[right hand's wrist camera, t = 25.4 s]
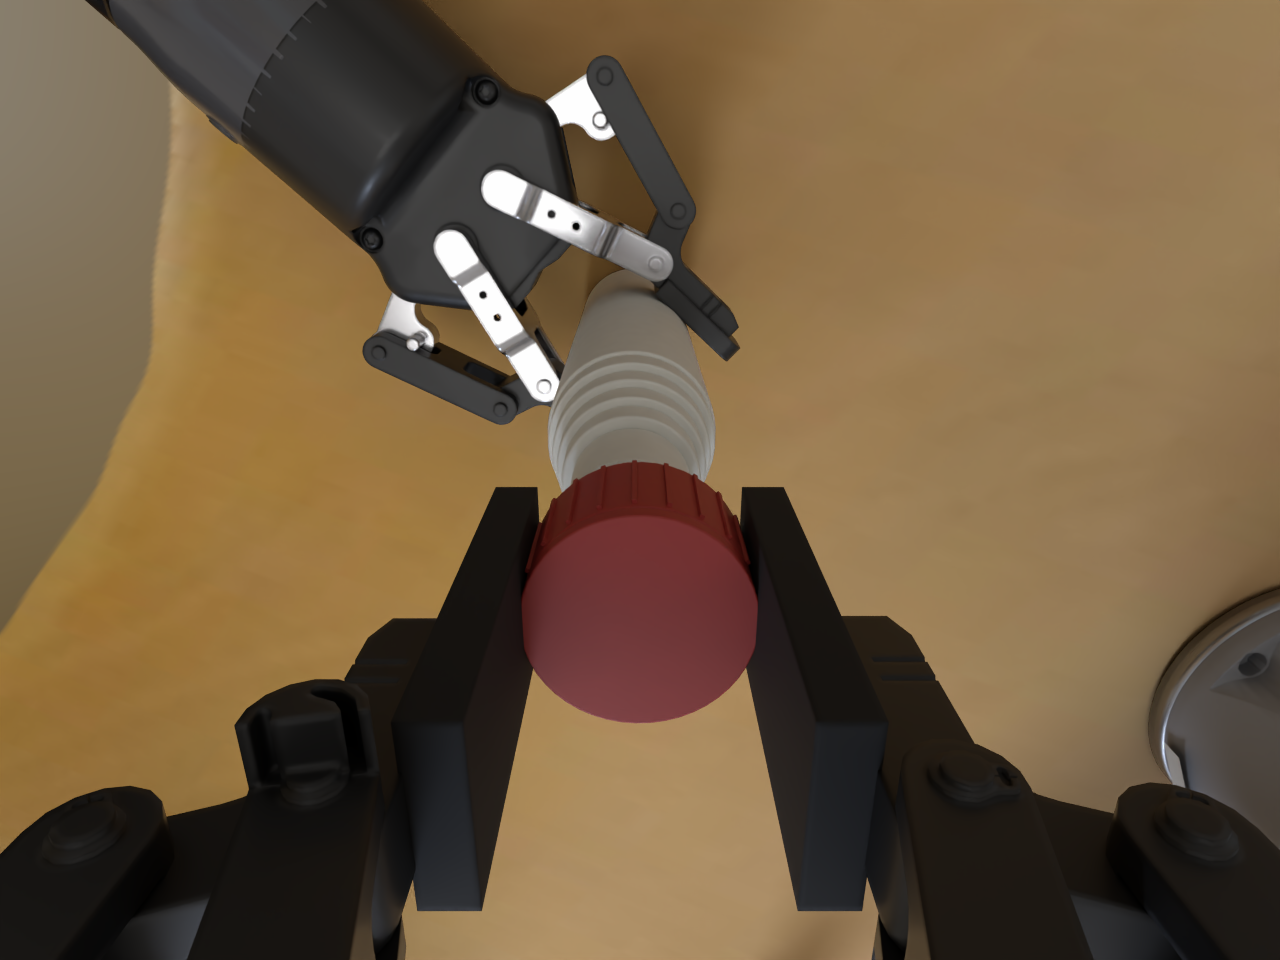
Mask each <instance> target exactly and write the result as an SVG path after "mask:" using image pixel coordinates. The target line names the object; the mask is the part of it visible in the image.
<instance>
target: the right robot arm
mask: <svg viewBox="0 0 1280 960" xmlns="http://www.w3.org/2000/svg"><path fill="white" fill-rule="evenodd" d="M538 523H539V509H538V490H537V487H496V488H495V490H494V492H493V495H492V497H491V499H490V501H489V504H488V506H487V508H486V510H485V513H484V515H483V517H482V519H481V521H480V524H479V526H478V528H477V530H476V533H475V535H474V537H473V539H472V542H471V544H470V546H469V548H468V550H467V553H466V555H465V557H464V559H463V562H462V564H461V566H460V568H459V571H458V573H457V575H456V577H455V579H454V582H453V584H452V586H451V588H450V591H449V593H448V595H447V597H446V600H445V602H444V604H443V606H442V609H441V611H440V613H439V615H438V617H437V618H393V619H392V620H390V621H389V622H388V623H387V624H385V625H384V626H383V627H381V628H380V629H379V630H377V631H376V632H375V633H374V634H372V635H371V636H370V637H368V639H367V640H366V642H365V644H364V646H363V647H362V649H361V651H360V653H359V654H358V656H357V658H356V660H355V664H353V665H352V667H351V668H350V670H349V672H348V673H347V675H346V677H345V681H342V680H339V679H314V680H310V681H305V682H300V683H296V684H291V685H288V686H286V687H283V688H281V689H279V690H276V691H274V692H272V693H269V694H267V695H265V696H264V697H262V698H261V699H260V700H258V701H257V702H255V703H254V704H253V705H251V706H250V707H248V708H247V709H246V710H245V711H244V713H243V714H242V716H241V717H240V718H239V720H238V721H237V722H236V724H235V725H234V726H235V730H236V735H237V739H238V743H239V748H240V752H241V756H242V760H243V765H244V769H245V773H246V778H247V782H248V786H249V791H248V794H247V796H245V797H243V798H240V799H236V800H233V801H230V802H227V803H223V804H220V805H216V806H211V807H207V808H203V809H198V810H194V811H190V812H185V813H181V814H177V815H172V816H168V817H166V814H165V810H164V807H163V803H162V801H161V800H160V799H159V798H158V797H157V796H156V795H155V794H154V793H153V792H152V791H151V790H147V789H143V788H138V787H133V786H124V787H114V788H104V789H101V790H98V791H95V792H91V793H88V794H85V795H82V796H79V797H76V798H73V799H72V800H70V801H68V802H66V803H64V804H62V805H60V806H58V807H56V808H54V809H53V810H51V811H49V812H47V813H45V814H44V815H43V816H42V817H40V818H39V819H38V820H37V821H35V822H34V823H33V824H32V825H30V826H29V827H28V828H27V829H25V830H24V831H23V832H22V833H21V834H20V835H19V836H18V837H17V838H16V839H15V840H14V841H13V842H12V843H11V844H10V845H9V846H8V847H7V848H6V849H5V850H4V851H3V852H2V853H1V854H0V960H405V953H406V942H405V935H404V928H403V921H402V912H403V908H404V905H405V902H406V899H407V896H408V893H409V890H410V886H411V883H412V880H413V883H414V890H415V897H416V904H417V911H482V907H483V902H484V898H485V893H486V888H487V883H488V879H489V874H490V869H491V865H492V860H493V855H494V850H495V846H496V841H497V836H498V832H499V827H500V822H501V817H502V813H503V808H504V803H505V798H506V794H507V789H508V784H509V780H510V775H511V770H512V765H513V761H514V756H515V751H516V747H517V742H518V737H519V732H520V728H521V723H522V718H523V714H524V709H525V704H526V699H527V695H528V690H529V685H530V680H531V676H532V671H533V667H532V665H531V663H530V662H529V660H528V657H527V655H526V653H525V650H524V638H523V623H522V606H521V596H522V592H523V588H524V585H525V581H526V577H527V574H528V573H526V572H525V568H526V565H527V561H528V558H529V554H530V550H531V547H532V543H533V540H534V536H535V532H536V529H537V525H538ZM740 528H741V531H742V535H743V538H744V542H745V545H746V549H747V552H748V556H749V559H750V563H751V564H749V568H750V572H751V575H752V579H753V582H754V586H755V590H756V593H757V597H758V612H757V628H756V643H755V650H754V653H753V655H752V657H751V659H750V661H749V663H748V665H747V667H746V669H747V673H748V678H749V683H750V688H751V692H752V697H753V702H754V706H755V711H756V716H757V721H758V725H759V730H760V735H761V739H762V744H763V749H764V754H765V758H766V763H767V768H768V772H769V777H770V782H771V787H772V791H773V796H774V801H775V806H776V810H777V815H778V820H779V824H780V829H781V834H782V839H783V843H784V848H785V853H786V857H787V862H788V867H789V872H790V876H791V881H792V886H793V890H794V895H795V900H796V905H797V909H798V911H862V908H863V901H864V894H865V887H866V880H867V878H868V881H869V884H870V887H871V890H872V893H873V897H874V900H875V903H876V906H877V909H878V912H879V915H878V921H877V928H876V934H875V941H874V947H873V954H872V960H1280V589H1277V590H1274V591H1271V592H1268V593H1266V594H1263V595H1260V596H1258V597H1256V598H1254V599H1251V600H1249V601H1247V602H1245V603H1243V604H1241V605H1240V606H1238V607H1236V608H1234V609H1232V610H1231V611H1229V612H1227V613H1226V614H1224V615H1223V616H1221V617H1220V618H1218V619H1217V620H1215V621H1214V622H1213V623H1211V624H1210V625H1209V626H1207V627H1206V628H1205V629H1204V630H1203V631H1201V632H1200V633H1199V634H1198V635H1197V636H1196V637H1195V638H1194V639H1193V640H1192V641H1191V642H1190V643H1189V644H1188V645H1187V646H1186V647H1185V648H1184V649H1183V650H1182V651H1181V652H1180V654H1179V655H1178V656H1177V657H1176V658H1175V660H1174V661H1173V663H1172V664H1171V665H1170V667H1169V668H1168V670H1167V671H1166V673H1165V675H1164V676H1163V678H1162V680H1161V682H1160V684H1159V686H1158V688H1157V690H1156V693H1155V696H1154V699H1153V702H1152V706H1151V710H1150V715H1149V741H1150V746H1151V750H1152V753H1153V756H1154V758H1155V760H1156V762H1157V764H1158V766H1159V767H1160V769H1161V770H1162V772H1163V773H1164V774H1165V775H1166V777H1167V778H1168V779H1169V780H1170V781H1171V783H1172V784H1173V785H1170V784H1160V783H1146V784H1141V785H1136V786H1132V787H1129V788H1128V789H1127V790H1126V791H1125V792H1124V793H1123V794H1122V795H1121V796H1120V797H1119V798H1118V801H1117V804H1116V808H1115V811H1114V814H1113V813H1108V812H1104V811H1100V810H1095V809H1091V808H1087V807H1082V806H1078V805H1074V804H1069V803H1065V802H1061V801H1057V800H1054V799H1051V798H1047V797H1044V796H1041V795H1038V794H1036V793H1033V792H1032V790H1031V788H1030V786H1029V784H1028V783H1027V781H1026V780H1025V778H1024V777H1023V775H1022V773H1021V772H1020V771H1019V770H1018V769H1017V768H1016V767H1014V766H1013V765H1012V764H1011V763H1010V762H1008V761H1007V760H1006V759H1005V758H1003V757H1002V756H1001V755H999V754H997V753H995V752H992V751H990V750H988V749H986V748H984V747H982V746H980V745H977V744H975V743H974V742H973V740H972V738H971V737H970V735H969V733H968V731H967V730H966V728H965V726H964V724H963V723H962V721H961V719H960V718H959V716H958V714H957V712H956V711H955V709H954V707H953V706H952V704H951V702H950V700H949V699H948V697H947V695H946V693H945V692H944V690H943V688H942V687H941V685H940V683H939V681H936V680H935V674H934V673H933V671H932V669H931V668H930V666H929V664H928V662H925V657H924V655H923V654H922V652H921V650H920V649H919V647H918V645H917V643H916V642H915V640H914V638H913V637H912V635H911V634H909V633H908V632H907V631H906V630H904V629H903V628H902V627H900V626H899V625H898V624H896V623H895V622H894V621H893V620H891V619H890V618H889V617H887V616H841V614H840V612H839V610H838V607H837V605H836V603H835V601H834V599H833V596H832V594H831V592H830V590H829V587H828V585H827V583H826V581H825V578H824V576H823V574H822V572H821V570H820V567H819V565H818V563H817V561H816V558H815V556H814V554H813V552H812V549H811V547H810V545H809V543H808V540H807V538H806V536H805V534H804V532H803V529H802V527H801V525H800V523H799V520H798V518H797V516H796V514H795V511H794V509H793V507H792V505H791V503H790V500H789V498H788V496H787V494H786V491H785V489H784V487H742V500H741V519H740Z"/></svg>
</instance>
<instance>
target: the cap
mask: <svg viewBox="0 0 1280 960" xmlns="http://www.w3.org/2000/svg"><path fill="white" fill-rule="evenodd" d="M749 564H751V563H750V559H749V556H748V552H747V549H746V545H745V542H744V538H743V535H742V531H741V528H740V524H739V521H738V518H737V516H736V515H733V514H732V513H731V511H730V510H729V508H728V506H727V505H726V503H725V502H724V501H723V499H722V495H721V493H720V492H719V491H718V492H717V493H716V492H715V491H714V490H713V489H712V488H710V487H709V486H708V485H707V484H706V483H704V482H703V481H701V480H700V479H698V475H696V474H693V475H691V474H689V473H687V472H685V471H683V470H680V469H677V468H674V467H672V466H669V464H668V463H664V465H663V464H658V463H649V462H637V460H632V462H627V463H621V464H615V465H611V466H608V467H606V465H603V466H601V469H599V470H596V471H594V472H592V473H589V474H587V475H585V476H584V477H582V478H580V479H579V480H578V479H577V478H576V479H574V480H573V484H572V485H571V486H569V487H568V488H567V489H565V491H564V492H563V493H562V494H561V495H560V496H559V497H558V498H557V499H555V498H553V499H552V501H551V505H550V508H549V510H548V512H547V514H546V516H545V517H544V519H543V522H542V523H541V522H539V523H538V525H537V529H536V532H535V536H534V540H533V543H532V547H531V550H530V554H529V558H528V561H527V565H526V568H525V572H526V573H528V574H527V577H526V581H525V585H524V588H523V592H522V596H521V606H522V623H523V638H524V650H525V653H526V655H527V657H528V660H529V662H530V663H531V665H532V667H533V668H534V670H535V672H536V673H537V675H538V676H539V677H540V678H541V680H542V681H543V682H544V683H545V684H546V685H547V686H548V687H549V688H550V689H551V690H552V691H553V692H554V693H555V694H556V695H558V696H559V697H560V698H562V699H563V700H564V701H566V702H567V703H569V704H571V705H572V706H574V707H576V708H578V709H579V710H582V711H584V712H586V713H589V714H591V715H594V716H597V717H600V718H604V719H607V720H613V721H618V722H627V723H653V722H660V721H667V720H671V719H675V718H679V717H682V716H684V715H687V714H690V713H692V712H695V711H697V710H699V709H701V708H703V707H705V706H707V705H708V704H710V703H711V702H713V701H714V700H716V699H717V698H719V697H720V696H721V695H722V694H723V693H724V692H726V691H727V690H728V689H729V688H730V687H731V686H732V685H733V684H734V683H735V682H736V680H737V679H738V678H739V677H740V675H741V674H742V672H743V671H744V670H745V668H746V667H747V665H748V663H749V661H750V659H751V657H752V655H753V653H754V650H755V643H756V628H757V612H758V597H757V593H756V590H755V586H754V582H753V579H752V575H751V572H750V568H749Z"/></svg>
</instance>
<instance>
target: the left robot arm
mask: <svg viewBox="0 0 1280 960" xmlns="http://www.w3.org/2000/svg"><path fill="white" fill-rule="evenodd" d="M86 1H87V2H88V3H89V4H90V5H91V6H92V7H94V8H95V9H96V10H97V11H98V12H99V13H101V14H102V15H103V16H104V17H105V18H106V19H108V20H109V21H110V22H111V23H112V24H113V25H114V26H116V27H117V28H118V29H120V30H121V31H122V32H123V33H124V34H125V35H126V36H127V37H128V38H129V39H130V40H131V41H132V42H133V43H135V45H137V46H138V47H139V48H140V50H141V51H142V52H143V53H144V54H145V55H146V56H147V57H148V58H149V59H150V60H151V62H152V63H153V64H154V65H155V66H156V67H157V68H158V69H159V70H160V71H161V73H162V74H163V75H164V76H165V77H166V78H167V79H168V80H169V81H170V82H171V83H172V84H173V85H174V86H175V87H176V88H177V89H178V90H179V91H180V92H181V93H182V94H183V95H184V96H185V97H186V98H187V99H189V100H190V101H191V102H192V103H193V104H194V105H195V106H196V107H198V108H199V109H200V110H201V111H202V112H203V113H205V114H206V116H207V117H208V118H209V121H210V122H211V123H212V124H213V125H214V126H215V127H216V128H217V129H218V130H219V131H221V132H222V133H223V134H224V135H225V136H227V137H228V138H229V139H230V140H232V141H233V142H235V143H236V144H237V143H238V144H240V145H242V146H243V147H244V148H245V149H247V150H248V151H249V152H250V153H251V154H252V155H253V156H255V157H256V158H257V159H258V160H259V161H260V162H262V163H263V164H264V165H265V166H266V167H267V168H268V169H270V170H271V171H272V172H273V173H274V174H275V175H277V176H278V177H279V178H280V179H281V180H283V181H284V182H285V183H286V184H287V185H288V186H290V187H291V188H292V189H293V190H294V191H295V192H297V193H298V194H299V195H300V196H301V197H302V198H304V199H305V200H306V201H307V202H308V203H309V204H311V205H312V206H313V207H314V208H315V209H316V210H317V211H319V212H320V213H321V214H322V215H323V216H324V217H326V218H327V219H328V220H329V221H330V222H331V223H333V224H334V225H335V226H336V227H337V228H338V229H339V230H341V231H342V232H343V233H344V234H345V235H346V236H348V237H349V238H350V239H351V240H352V241H353V242H355V243H356V244H357V245H358V246H360V247H361V248H362V249H363V250H365V251H366V252H367V253H368V254H369V255H370V256H371V257H372V259H373V260H374V261H375V263H376V264H377V266H378V268H379V270H380V272H381V274H382V276H383V279H384V281H385V283H386V285H387V286H388V288H389V289H390V290H391V291H392V294H391V296H390V299H389V302H388V304H387V307H386V310H385V312H384V315H383V317H382V320H381V323H380V325H379V328H378V330H377V332H376V333H375V334H374V335H372V337H371V338H369V339H368V340H367V341H366V342H365V343H364V346H363V356H364V358H365V360H366V361H367V363H368V364H370V365H371V366H372V367H374V368H377V369H379V370H381V371H383V372H385V373H387V374H389V375H392V376H394V377H396V378H398V379H400V380H402V381H405V382H407V383H409V384H411V385H413V386H415V387H418V388H420V389H422V390H424V391H426V392H428V393H431V394H433V395H435V396H437V397H439V398H441V399H443V400H446V401H448V402H450V403H452V404H454V405H456V406H459V407H461V408H463V409H465V410H467V411H469V412H472V413H474V414H476V415H478V416H480V417H482V418H484V419H487V420H489V421H491V422H493V423H496V424H499V425H504V424H508V423H510V422H511V421H512V420H513V419H514V418H515V416H516V415H518V414H520V413H522V412H524V411H526V410H528V409H530V408H532V407H534V406H537V405H546V406H550V407H551V406H552V403H553V400H554V397H555V394H556V391H557V388H558V385H559V382H560V379H561V376H562V373H563V370H564V367H565V365H564V363H563V361H562V360H561V358H560V356H559V355H558V353H557V351H556V350H555V348H554V347H553V345H552V343H551V342H550V340H549V338H548V337H547V335H546V333H545V332H544V330H543V328H542V326H541V324H540V321H539V318H538V316H537V314H536V312H535V311H534V309H533V307H532V306H531V304H530V302H529V301H528V299H527V298H526V296H527V295H528V294H529V292H530V291H531V290H532V289H533V287H534V286H535V285H536V283H537V281H538V279H539V277H540V275H541V273H542V271H543V269H544V268H545V267H547V266H548V265H550V264H552V263H553V262H555V261H556V260H558V259H559V258H560V257H561V255H562V254H563V253H564V252H565V251H566V250H567V249H568V247H569V246H570V245H571V244H572V245H574V246H576V247H578V248H580V249H582V250H584V251H586V252H588V253H590V254H592V255H594V256H597V257H600V258H603V259H606V260H608V261H610V262H612V263H615V264H617V265H619V266H621V267H623V268H625V269H627V270H629V271H631V272H633V273H635V274H637V275H639V276H641V277H643V278H645V279H647V280H650V281H651V282H652V283H653V284H654V290H655V295H656V296H657V297H658V298H660V299H661V300H662V301H663V302H664V303H665V304H666V305H667V306H668V307H669V308H670V309H671V310H673V311H674V312H675V313H676V314H677V315H678V316H679V318H681V319H682V320H683V321H684V322H685V323H686V324H687V325H688V326H689V327H690V328H691V329H692V330H693V331H694V332H695V333H696V334H697V335H698V336H699V337H701V338H702V339H703V340H704V341H705V342H706V343H707V344H708V345H709V346H710V347H711V348H712V349H713V350H714V351H715V352H716V353H717V354H718V355H719V356H720V357H722V358H723V359H724V360H725V361H728V360H729V359H730V358H731V357H732V356H733V355H734V354H735V353H736V352H737V351H738V350H739V349H740V347H739V345H738V343H737V341H736V340H735V339H734V337H733V336H732V334H733V333H734V332H735V331H736V330H737V329H738V328H739V327H738V324H737V322H736V320H735V317H734V315H733V313H732V311H731V310H730V308H729V307H728V306H727V305H726V304H725V303H724V302H723V301H722V300H721V299H720V298H719V297H718V296H717V295H716V294H715V293H714V292H713V291H712V290H711V289H710V288H709V287H708V286H707V285H706V284H705V283H704V282H703V281H702V280H701V279H699V278H698V277H697V276H696V275H695V274H694V273H693V272H692V271H691V270H690V269H689V268H688V267H687V266H686V265H685V264H684V263H683V261H682V259H681V254H680V253H681V246H682V243H683V240H684V238H685V236H686V233H687V231H688V229H689V226H690V224H691V223H692V222H693V220H694V218H695V215H696V207H695V203H694V201H693V199H692V197H691V196H690V194H689V192H688V190H687V188H686V186H685V184H684V183H683V181H682V179H681V177H680V175H679V173H678V171H677V169H676V168H675V166H674V164H673V162H672V160H671V158H670V156H669V155H668V153H667V151H666V149H665V147H664V145H663V143H662V141H661V140H660V138H659V136H658V134H657V132H656V130H655V128H654V127H653V125H652V123H651V121H650V119H649V117H648V115H647V113H646V112H645V110H644V108H643V106H642V104H641V102H640V100H639V99H638V97H637V95H636V93H635V91H634V89H633V87H632V85H631V84H630V82H629V80H628V78H627V76H626V74H625V72H624V71H623V69H622V67H621V65H620V64H619V62H618V61H617V60H616V59H614V58H613V57H610V56H606V55H603V56H599V57H596V58H595V59H594V60H592V61H591V63H590V64H589V66H588V68H587V72H586V74H585V75H584V76H582V77H581V78H579V79H578V80H576V81H575V82H573V83H572V84H570V85H569V86H567V87H566V88H564V89H563V90H561V91H560V92H558V93H557V94H556V95H554V96H553V97H551V98H550V99H548V100H547V101H544V100H542V99H541V98H539V97H537V96H534V95H531V94H526V93H523V92H520V91H517V90H515V89H513V88H512V87H510V86H509V85H508V84H507V83H506V82H505V81H504V80H502V79H501V78H500V77H499V76H498V75H497V74H496V73H495V72H494V71H493V70H492V69H491V68H490V67H489V66H488V65H487V64H486V63H485V62H484V61H483V60H482V59H481V58H480V57H479V56H478V55H477V54H476V53H475V52H474V51H473V50H472V49H471V48H470V47H469V46H468V45H467V44H466V43H465V42H464V41H463V40H462V39H461V38H460V37H459V36H458V35H457V34H455V33H454V32H453V31H452V30H451V29H450V28H449V27H448V26H447V25H446V24H445V23H444V22H443V21H442V20H441V19H440V18H439V17H438V16H437V15H436V14H435V13H434V12H433V11H432V10H431V9H430V8H429V7H428V6H427V5H426V4H425V3H424V2H423V1H422V0H86ZM571 124H574V125H579V126H581V127H582V128H583V129H584V130H585V131H586V132H587V133H588V135H589V136H590V137H592V138H593V139H595V140H598V141H607V140H609V139H611V138H613V137H614V136H616V137H617V139H618V140H619V142H620V144H621V146H622V148H623V149H624V151H625V153H626V155H627V157H628V158H629V160H630V162H631V164H632V166H633V167H634V169H635V171H636V173H637V175H638V176H639V178H640V180H641V182H642V184H643V185H644V187H645V189H646V191H647V193H648V194H649V196H650V198H651V200H652V202H653V203H654V205H655V207H656V209H657V211H656V213H655V215H654V218H653V220H652V223H651V225H650V228H649V230H648V233H647V234H646V233H644V232H642V231H640V230H638V229H636V228H634V227H631V226H629V225H627V224H625V223H624V222H622V221H620V220H618V219H617V218H615V217H613V216H611V215H610V214H608V213H606V212H604V211H602V210H600V209H598V208H596V207H594V206H592V205H590V204H588V203H586V202H584V201H582V200H580V199H578V197H577V193H576V188H575V183H574V179H573V174H572V169H571V164H570V160H569V155H568V150H567V146H566V141H565V136H564V131H563V127H565V126H567V125H571ZM421 304H424V305H433V306H441V307H449V308H457V309H465V310H473V311H474V313H475V315H476V316H477V318H478V319H479V321H480V322H481V324H482V326H483V327H484V329H485V330H486V332H487V333H488V335H489V336H490V338H491V340H492V341H493V343H494V344H495V346H496V347H497V349H498V350H499V351H500V352H501V353H502V354H504V355H505V356H506V357H507V358H508V360H509V361H510V363H511V364H512V366H513V368H514V369H515V371H516V372H517V373H515V374H513V375H511V376H509V375H507V374H505V373H503V372H501V371H499V370H497V369H494V368H492V367H490V366H488V365H486V364H484V363H482V362H480V361H478V360H476V359H473V358H471V357H469V356H467V355H465V354H463V353H461V352H459V351H457V350H455V349H452V348H450V347H448V346H446V345H444V344H442V343H440V342H439V338H440V336H439V331H438V329H437V328H436V326H435V325H434V324H433V323H431V322H430V321H428V320H427V319H426V318H425V317H424V315H423V314H422V311H421ZM496 314H498V315H499V317H500V319H499V318H497V317H496Z"/></svg>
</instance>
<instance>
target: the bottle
mask: <svg viewBox="0 0 1280 960" xmlns="http://www.w3.org/2000/svg"><path fill="white" fill-rule="evenodd" d="M715 429H716V428H715V417H714V413H713V409H712V405H711V402H710V399H709V396H708V393H707V389H706V386H705V383H704V380H703V377H702V374H701V370H700V367H699V364H698V361H697V358H696V355H695V351H694V348H693V345H692V342H691V339H690V335H689V332H688V329H687V326H686V323H685V322H684V321H683V320H682V319H681V318H679V316H678V315H677V314H676V313H675V312H674V311H673V310H671V309H670V308H669V307H668V306H667V305H666V304H665V303H664V302H663V301H662V300H661V299H660V298H658V297H657V296H656V295H655V290H654V284H653V283H652V282H651V281H650V280H647V279H645V278H643V277H641V276H639V275H637V274H635V273H633V272H631V271H629V270H627V269H624V270H620V271H616V272H614V273H612V274H610V275H608V276H606V277H605V278H603V279H602V280H601V281H600V282H599V283H598V284H597V285H596V286H595V287H594V289H593V290H592V291H591V293H590V295H589V297H588V299H587V302H586V305H585V308H584V311H583V314H582V317H581V320H580V323H579V325H578V328H577V331H576V334H575V337H574V340H573V343H572V346H571V349H570V352H569V355H568V358H567V361H566V364H565V367H564V370H563V373H562V376H561V379H560V382H559V385H558V388H557V391H556V394H555V397H554V400H553V403H552V406H551V410H550V414H549V420H548V449H549V455H550V460H551V463H552V466H553V469H554V471H555V474H556V477H557V479H558V482H559V485H560V488H561V491H562V493H563V492H564V491H565V489H567V488H568V487H569V486H571V485H572V484H573V480H574V479H576V478H577V479H578V480H579V479H580V478H582V477H584V476H585V475H587V474H589V473H592V472H594V471H596V470H599V469H601V466H603V465H606V467H608V466H611V465H615V464H621V463H627V462H632V460H637V462H649V463H658V464H663V465H664V463H668V464H669V466H672V467H674V468H677V469H680V470H683V471H685V472H687V473H689V474H691V475H693V474H696V475H698V479H700V480H701V481H703V482H704V481H705V479H706V476H707V473H708V471H709V469H710V466H711V463H712V460H713V456H714V450H715Z"/></svg>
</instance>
